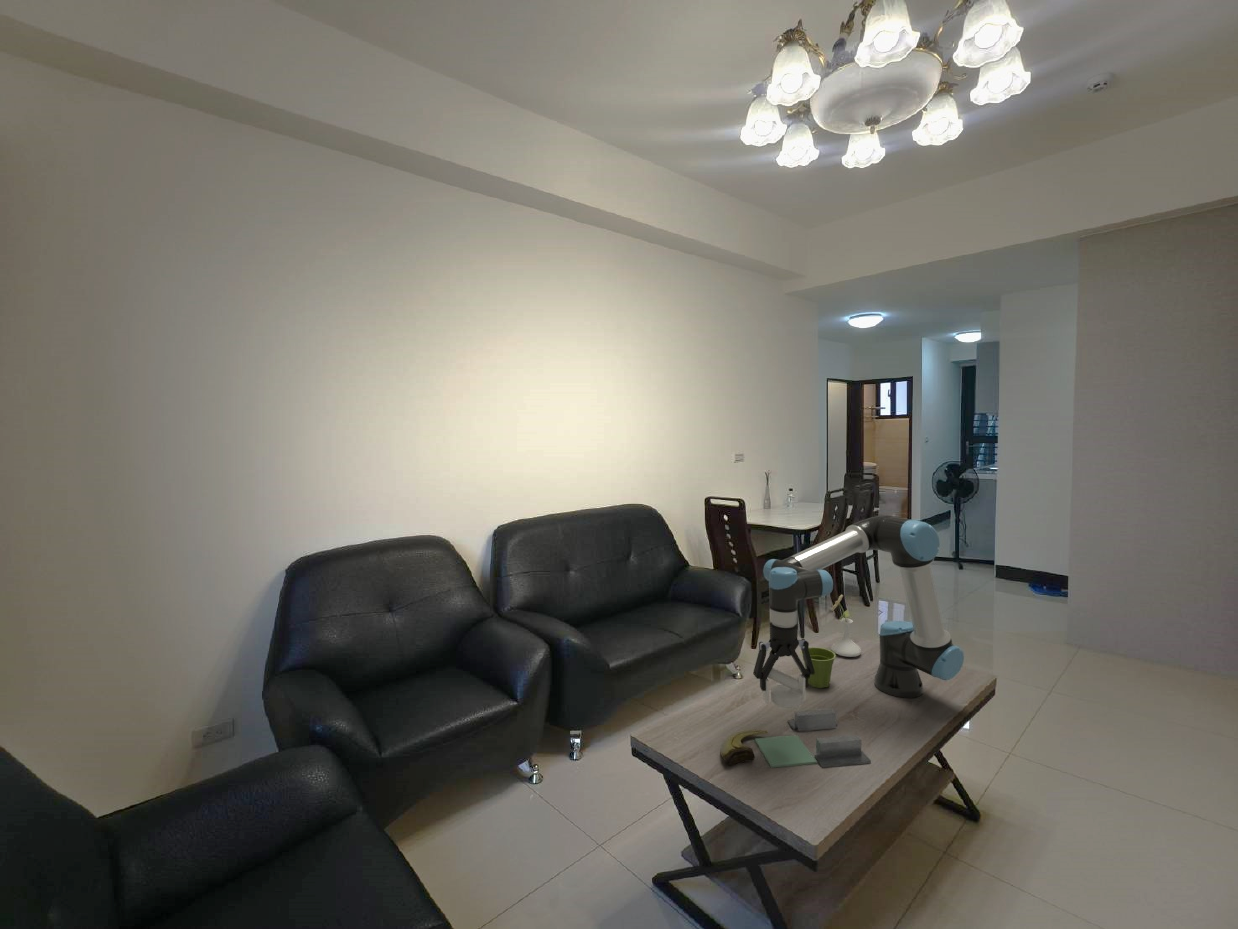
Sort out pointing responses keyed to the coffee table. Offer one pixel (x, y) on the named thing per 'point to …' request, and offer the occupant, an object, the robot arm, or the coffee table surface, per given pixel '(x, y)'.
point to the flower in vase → (845, 636)
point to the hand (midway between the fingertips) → (784, 699)
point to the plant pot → (820, 666)
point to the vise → (830, 739)
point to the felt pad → (785, 751)
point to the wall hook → (785, 690)
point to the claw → (738, 748)
